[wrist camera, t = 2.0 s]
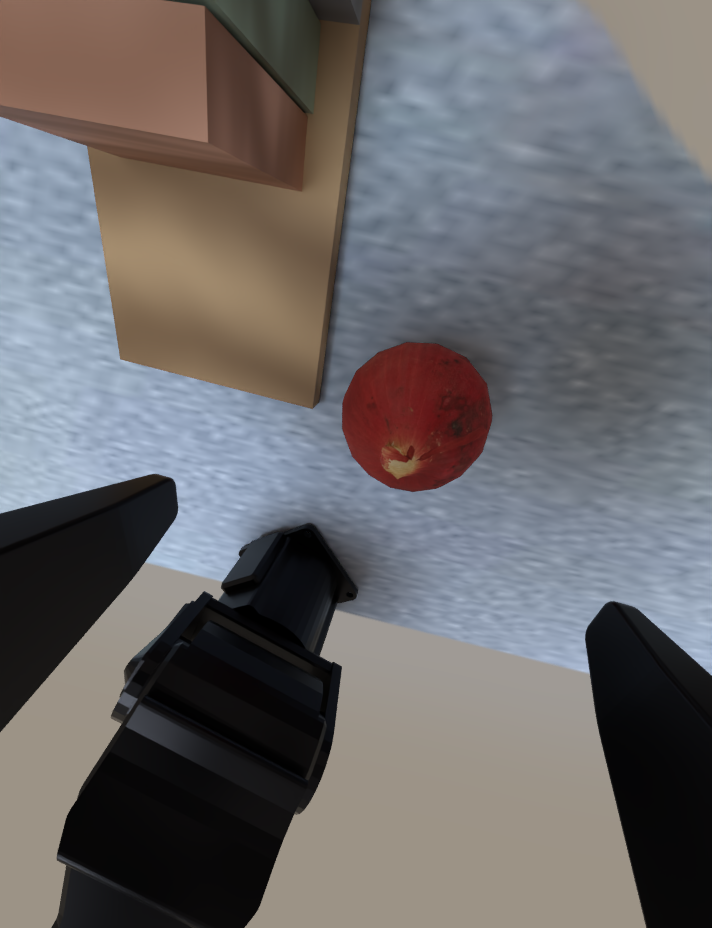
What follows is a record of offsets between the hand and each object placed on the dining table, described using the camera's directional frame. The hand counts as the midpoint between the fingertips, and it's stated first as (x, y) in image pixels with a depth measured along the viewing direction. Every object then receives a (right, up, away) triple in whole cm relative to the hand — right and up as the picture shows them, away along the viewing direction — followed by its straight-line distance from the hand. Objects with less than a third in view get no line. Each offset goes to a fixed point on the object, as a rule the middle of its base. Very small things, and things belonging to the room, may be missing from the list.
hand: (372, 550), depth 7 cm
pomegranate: (+3, +5, +10) cm, 12 cm away
